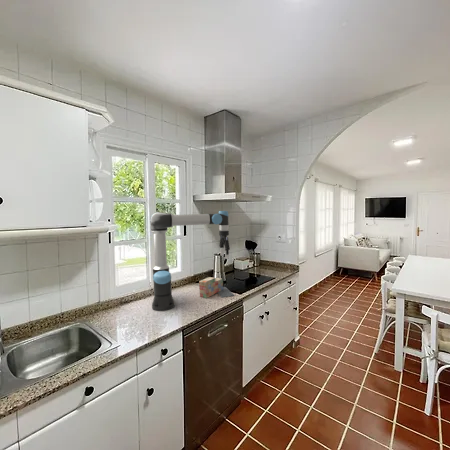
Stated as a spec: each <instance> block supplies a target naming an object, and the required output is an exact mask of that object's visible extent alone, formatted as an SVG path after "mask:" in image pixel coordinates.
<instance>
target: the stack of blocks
mask: <svg viewBox="0 0 450 450" xmlns="http://www.w3.org/2000/svg"><path fill="white" fill-rule="evenodd" d="M198 284H199V285H198V287H199V297H200V298H204V299H207V298H210V297H211V296H214V295H215V294H218V293H217V292H219V291H221V290H223V287H224V280H223V278H221V277H211V276H209V277H206V278H204V279H201V280H199V281H198Z"/></svg>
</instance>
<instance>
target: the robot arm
mask: <svg viewBox="0 0 450 450" xmlns="http://www.w3.org/2000/svg"><path fill="white" fill-rule="evenodd" d="M149 220H150V221H149V222H150V231H151V233H152V235H153V253H154V254H153V255H154V260H153V261H154V266H153V268H152V281H153V295H154V296H153V300H152V302H151V308H152V310H154V311H160V312H161V311H168V310H171V309H173V308H174V307H175V305H176V303H175V299H174V296H173V295H172V294H173V293H172V274H171V272H170V267H169V265H168V264H167V260H168V259H167V240H166V237H167V235H166V233H167V232H168V228H173V227H175V226H176V227H177V226H180V227H181V226H198V225H199V226H202V225H203V226H204V225H218V230H219V233H218V234H219V249H220V250H219V251H220V256H221V257H225V260H228V259H230V251H231V249H230V248H231V247H230V243H229V242H230V241H229V237H228V236H229V235H230V231H229V229H230V228H229V227H230V226H229V224H230V223H229V211H228V210H219V211H218V213H198V214H193V213H192V214H191V213H190V214H173V213H167V212H166V213H165V212H160V211H157V212H154V213H153V214H151V216H150V219H149Z"/></svg>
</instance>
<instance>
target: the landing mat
mask: <svg viewBox="0 0 450 450" xmlns="http://www.w3.org/2000/svg"><path fill="white" fill-rule="evenodd" d="M216 294H218V295H219V296H220V298H228V297H229V298H230V297H235V294H234V293H233V292H232V291H231V290H229V288H227V287H226V286H223V290H221V291H219V292H217V293H216Z"/></svg>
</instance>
